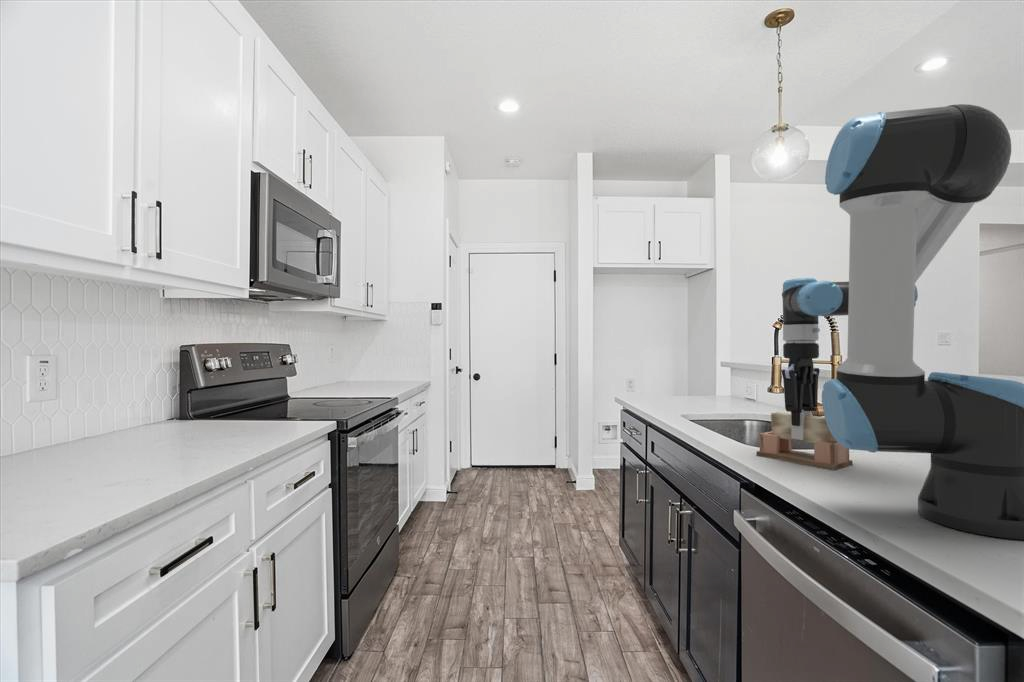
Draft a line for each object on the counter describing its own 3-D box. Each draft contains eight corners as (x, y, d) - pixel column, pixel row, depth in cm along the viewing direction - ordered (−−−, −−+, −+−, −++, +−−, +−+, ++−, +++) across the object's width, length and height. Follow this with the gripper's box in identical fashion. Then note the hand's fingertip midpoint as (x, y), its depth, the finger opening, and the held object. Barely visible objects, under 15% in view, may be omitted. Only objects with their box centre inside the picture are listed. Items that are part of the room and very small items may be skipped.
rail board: (833, 470, 109) (833, 465, 109) (756, 455, 124) (756, 451, 124) (852, 464, 113) (852, 460, 114) (775, 451, 129) (775, 447, 129)
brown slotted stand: (835, 465, 109) (834, 445, 109) (759, 451, 124) (759, 433, 124) (849, 460, 113) (849, 441, 113) (774, 447, 128) (774, 430, 128)
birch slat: (771, 436, 124) (771, 413, 124) (778, 435, 125) (777, 412, 125) (831, 445, 112) (831, 419, 112) (838, 444, 114) (837, 418, 114)
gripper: (799, 342, 111) (800, 444, 111) (833, 341, 120) (834, 436, 120) (767, 342, 118) (768, 439, 118) (801, 342, 126) (803, 432, 126)
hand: (801, 437), depth 119 cm, fingers closed on birch slat, 3 cm apart
